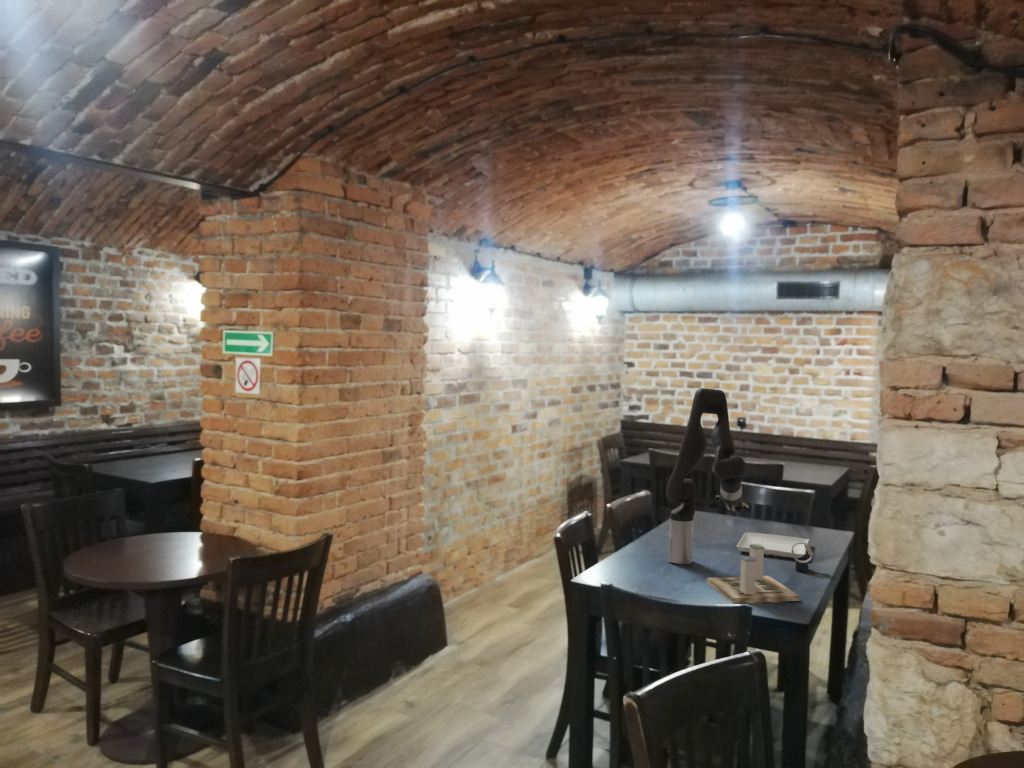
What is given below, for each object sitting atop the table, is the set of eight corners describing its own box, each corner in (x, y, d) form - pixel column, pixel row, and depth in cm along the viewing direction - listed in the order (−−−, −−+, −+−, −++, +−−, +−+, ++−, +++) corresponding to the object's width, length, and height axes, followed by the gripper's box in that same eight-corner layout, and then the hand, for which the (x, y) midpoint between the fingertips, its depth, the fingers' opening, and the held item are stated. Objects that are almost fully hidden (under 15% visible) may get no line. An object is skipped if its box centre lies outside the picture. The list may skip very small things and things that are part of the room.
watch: (813, 573, 292) (814, 545, 291) (791, 571, 294) (792, 543, 294) (812, 569, 297) (813, 541, 296) (790, 566, 300) (791, 539, 299)
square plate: (809, 546, 331) (809, 537, 331) (804, 563, 306) (805, 553, 306) (744, 539, 343) (745, 530, 342) (735, 554, 318) (735, 545, 317)
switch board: (732, 604, 256) (732, 597, 256) (706, 583, 278) (706, 577, 278) (799, 601, 260) (799, 594, 260) (768, 581, 281) (768, 574, 281)
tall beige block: (753, 580, 274) (754, 547, 273) (748, 576, 278) (749, 544, 277) (763, 580, 274) (764, 547, 274) (758, 576, 279) (759, 544, 278)
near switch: (744, 594, 259) (745, 559, 258) (739, 590, 263) (740, 556, 262) (755, 594, 259) (756, 559, 258) (749, 589, 263) (750, 555, 263)
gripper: (752, 487, 271) (753, 509, 285) (716, 476, 277) (718, 498, 291) (745, 505, 268) (746, 527, 282) (709, 493, 274) (711, 515, 288)
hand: (732, 512), depth 286 cm, fingers closed
